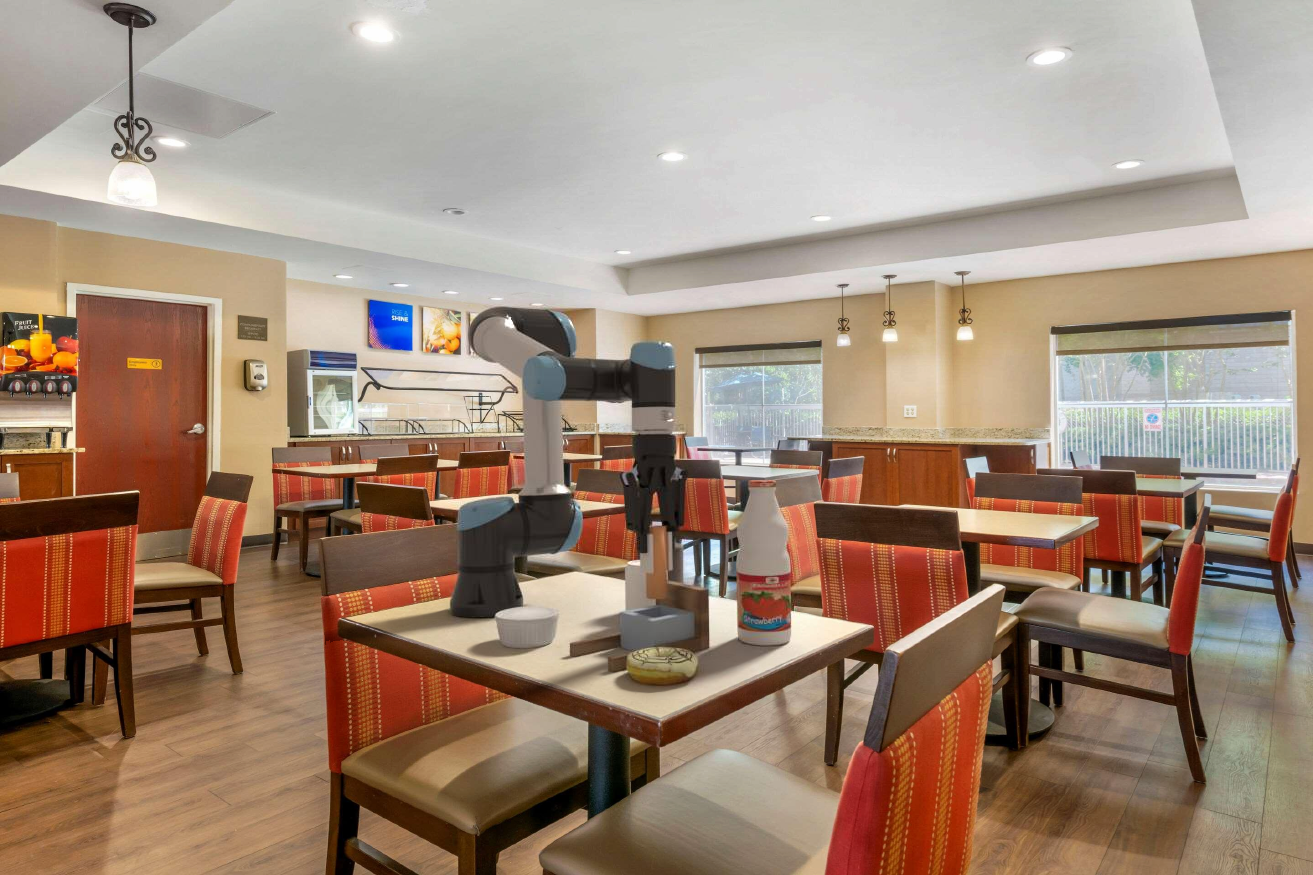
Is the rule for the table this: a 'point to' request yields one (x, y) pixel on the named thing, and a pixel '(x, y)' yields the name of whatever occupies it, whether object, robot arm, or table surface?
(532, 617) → the ramekin
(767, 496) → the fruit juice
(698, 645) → the track with backstop wall
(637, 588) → the beverage can
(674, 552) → the pillar candle
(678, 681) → the decorated donut
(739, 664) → the table surface
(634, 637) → the socket block
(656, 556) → the dowel
